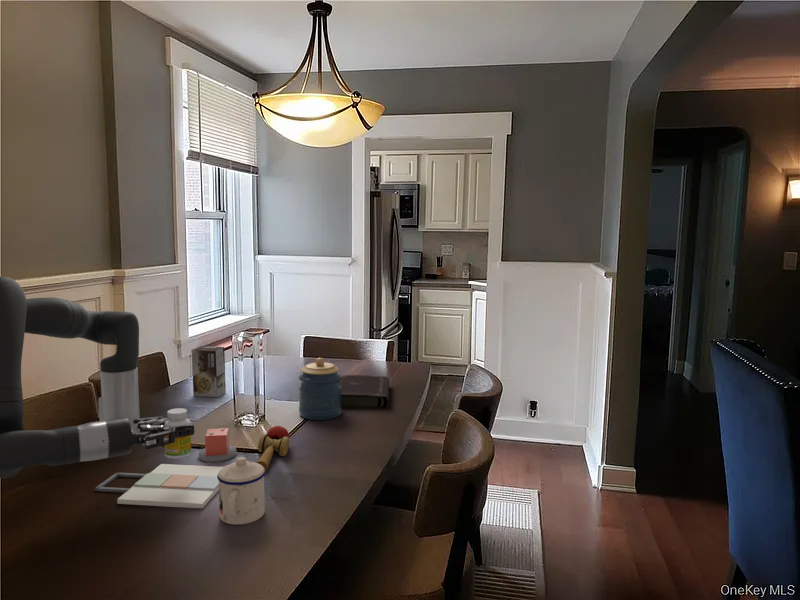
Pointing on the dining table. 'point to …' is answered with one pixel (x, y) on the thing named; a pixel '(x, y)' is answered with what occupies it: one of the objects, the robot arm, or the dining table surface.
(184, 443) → the supplement bottle
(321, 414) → the canister
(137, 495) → the game board
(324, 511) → the dining table surface
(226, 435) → the red die
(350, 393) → the diary
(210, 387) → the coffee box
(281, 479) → the dining table surface
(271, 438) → the kendama
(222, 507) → the teacup with lid
